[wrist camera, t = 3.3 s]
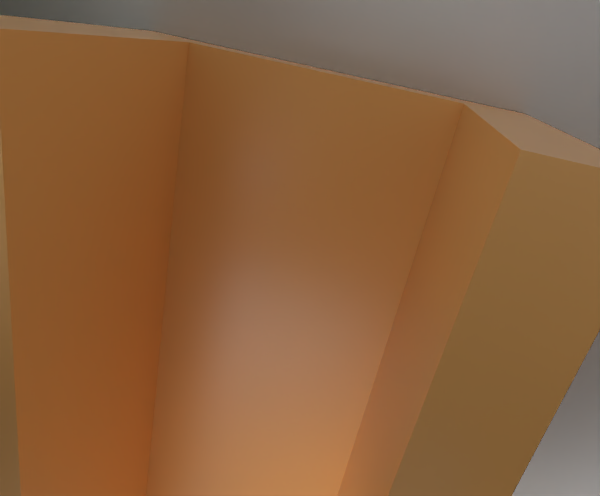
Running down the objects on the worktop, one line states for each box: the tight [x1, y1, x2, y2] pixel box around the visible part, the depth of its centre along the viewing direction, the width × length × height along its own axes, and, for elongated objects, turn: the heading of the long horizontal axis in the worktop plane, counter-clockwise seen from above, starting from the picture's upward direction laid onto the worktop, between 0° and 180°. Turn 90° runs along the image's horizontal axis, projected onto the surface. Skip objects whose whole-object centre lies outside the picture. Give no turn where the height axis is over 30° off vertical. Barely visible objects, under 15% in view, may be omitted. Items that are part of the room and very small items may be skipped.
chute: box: [0, 15, 600, 496], centre depth 8 cm, size 12×6×4 cm, turn 169°
